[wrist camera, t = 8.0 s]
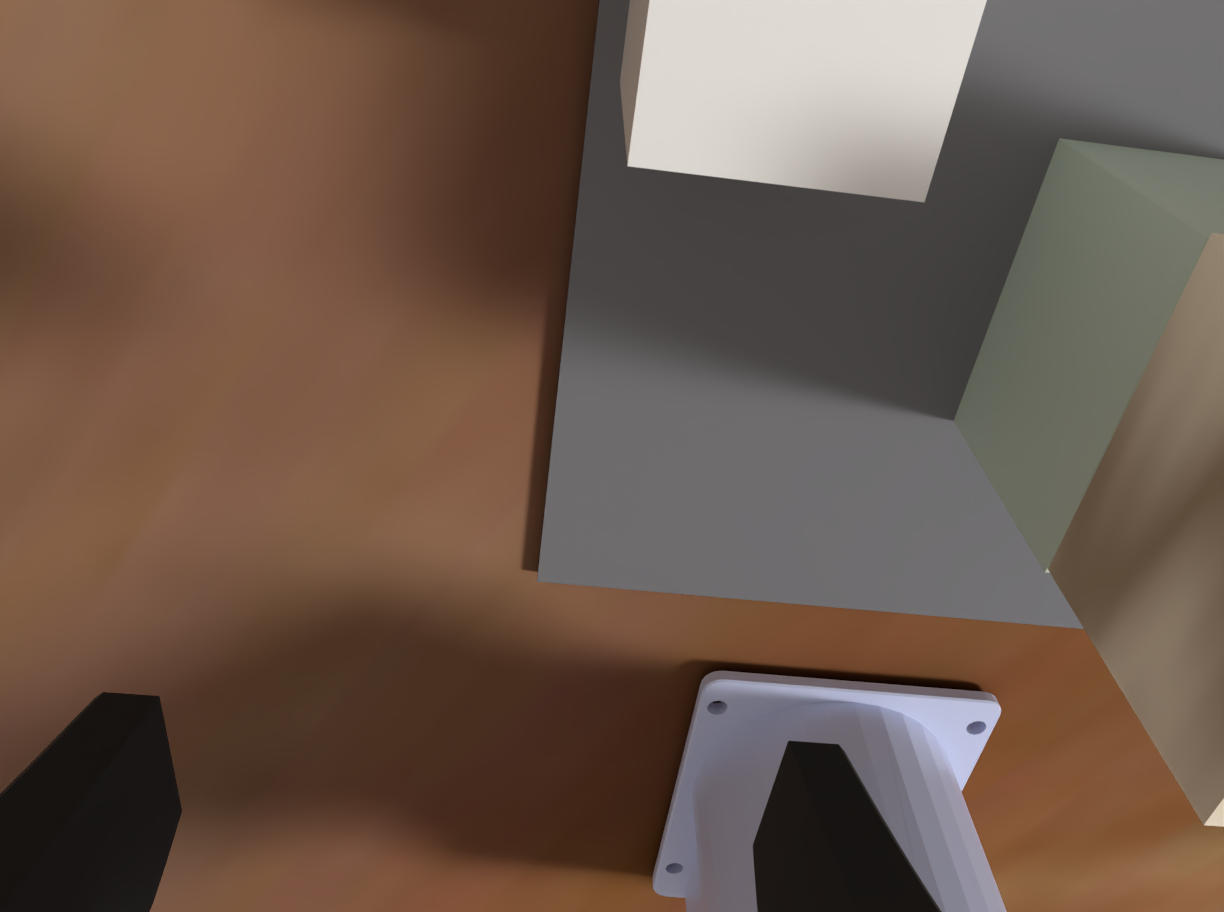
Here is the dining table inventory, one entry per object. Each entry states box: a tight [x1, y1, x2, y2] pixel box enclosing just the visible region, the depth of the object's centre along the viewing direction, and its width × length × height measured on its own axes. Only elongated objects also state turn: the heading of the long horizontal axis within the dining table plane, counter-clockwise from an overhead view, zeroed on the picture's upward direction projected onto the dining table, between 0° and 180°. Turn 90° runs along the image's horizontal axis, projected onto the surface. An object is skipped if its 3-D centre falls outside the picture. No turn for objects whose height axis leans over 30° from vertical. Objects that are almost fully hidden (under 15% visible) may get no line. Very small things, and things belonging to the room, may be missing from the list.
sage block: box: [954, 138, 1224, 573], centre depth 17 cm, size 6×4×5 cm, turn 173°
